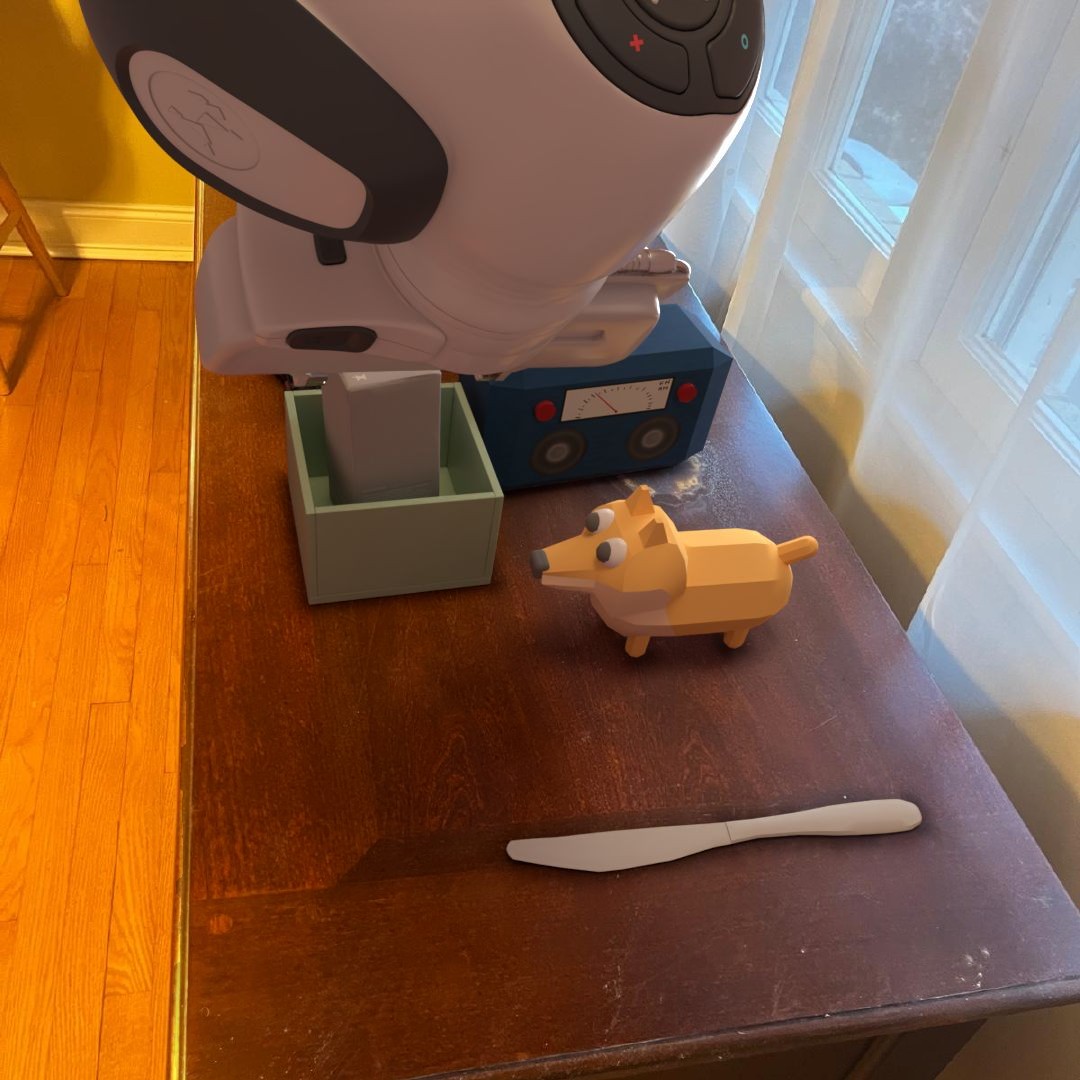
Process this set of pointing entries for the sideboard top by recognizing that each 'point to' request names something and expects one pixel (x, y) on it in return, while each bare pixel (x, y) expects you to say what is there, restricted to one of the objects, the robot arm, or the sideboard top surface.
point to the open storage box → (393, 513)
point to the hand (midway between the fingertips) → (399, 369)
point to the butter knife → (710, 836)
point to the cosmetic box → (382, 435)
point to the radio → (604, 409)
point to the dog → (671, 573)
